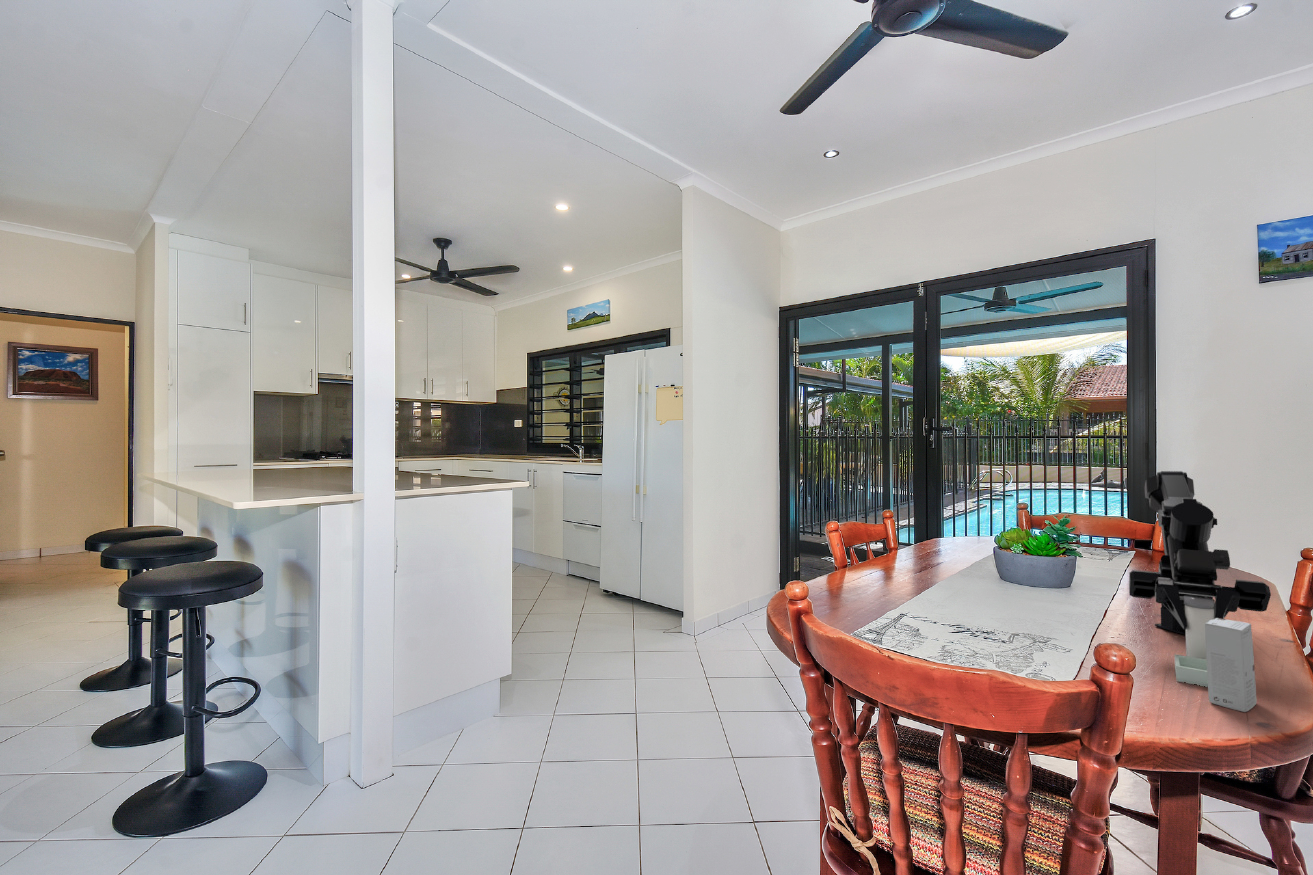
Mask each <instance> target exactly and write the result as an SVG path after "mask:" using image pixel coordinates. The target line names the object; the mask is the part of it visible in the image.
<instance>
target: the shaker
mask: <svg viewBox="0 0 1313 875" xmlns="http://www.w3.org/2000/svg"><path fill="white" fill-rule="evenodd" d="M1184 605H1185V617H1186V623H1187V629H1185V631H1186V635H1185V654H1186V655H1185V656H1188V657H1194V658H1200V659H1206V660H1207V657H1206V640H1205V623H1207V622H1209V620H1213V619H1214V608H1215V598H1213V599H1211V598H1207V597H1202V596H1193V595H1186V596H1184Z"/></svg>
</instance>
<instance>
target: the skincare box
mask: <svg viewBox="0 0 1313 875" xmlns="http://www.w3.org/2000/svg"><path fill="white" fill-rule="evenodd" d="M1252 633H1253V630H1252V624H1251V623H1249V622H1244V621H1239V620H1232V619H1226V618H1224V619H1220V618H1215V619H1213V620H1209V622H1207V623H1205V640H1206V657H1207V677H1208V687H1207V692H1208V693H1207V694H1208V701H1209V703H1211V704H1213V705H1217V706H1220V707H1222V708H1223V707H1224V708H1227V709H1231V710H1234V711H1239V712H1242V713H1243V712H1244V713H1246V712H1249V711H1250V710H1251V709H1253V708H1254V707H1255V705H1256V704H1257V687H1256V672H1255V658H1254V644H1253V634H1252Z"/></svg>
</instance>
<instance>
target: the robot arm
mask: <svg viewBox="0 0 1313 875" xmlns="http://www.w3.org/2000/svg"><path fill="white" fill-rule="evenodd" d="M1194 483H1195V482H1194V479H1192V478H1190V477H1189V476H1188V473H1187V471H1186V472H1185V471H1183V470H1182V471H1181V470H1179V471H1178V470H1176V471H1175V470H1161V471H1157V472H1156V474H1155V475H1154V476H1150V477H1148V478H1146V479H1145V483H1144V497H1145V499H1148V503H1149V508H1150V509H1152V510H1153V511H1155V512H1156V513H1157V523H1158V527H1160V528H1161V534H1162V543H1163V550H1164V554H1162V555H1161V557H1160V561H1159V562H1158V563H1159V564H1158V571H1147V570H1137V569H1133V570H1131V571H1130V572H1128V591H1129V592H1128V593H1129V596H1130V597H1133V598H1138V599H1146V600H1151V599H1153V598H1155V599H1154V600H1155V603H1157V604H1160V606H1161V607H1160V623H1159V622H1158V623H1154V627H1156V628H1159V629H1164V630H1167V631H1170V632H1173V633H1177V634H1181V635H1184V636H1186V631H1185V629H1187V623H1186V617H1185V605H1184V596H1186V595H1193V596H1202V597H1207V598H1211V599H1214V600H1215V608H1214V619H1215V618H1220V619H1226V617H1227V615H1228V614H1229V613H1231V612H1232V613H1235V612H1237V611H1238V609H1239V610H1243V611H1250V612H1251V611H1252V612H1260V613H1261V612H1266V611H1267V609H1268V607H1269V603H1270V599H1271V596H1272V593H1271V590H1270V586H1269V585H1267V584H1266V583H1265V582H1264V581H1256V580H1246V579H1245V580H1244V579H1235V583H1234V587H1233V586H1224V585H1222V584H1216V583H1215V582H1217V580H1218V574H1217V570H1229V569H1230V567H1231V560H1230V558H1231V557H1230V555H1229V551H1228V550H1226V549H1213V551H1211V550H1209V546H1208V544H1209V543H1208V541H1209V540H1210V538H1211V532H1212V529H1213V528H1214V527H1215V526H1218V519H1217V518H1216V517H1214V511H1212V510H1211V509H1210V508H1209V507H1208V506H1206V505H1204V504H1203V503H1202V502H1201V501H1198V500H1197V499H1196V498H1194V497H1195V495H1196V494H1195V484H1194Z"/></svg>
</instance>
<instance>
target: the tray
mask: <svg viewBox="0 0 1313 875" xmlns="http://www.w3.org/2000/svg"><path fill="white" fill-rule="evenodd" d="M1174 671H1175V679H1176V682H1180V683H1184V682H1186V683H1185V684H1190V685H1194V684H1197V685H1196V686H1199V685H1200V687H1204V686H1205V688H1208V677H1207V660H1206V659H1200V658H1194V657H1188V656H1186V655H1183V654H1176V653H1174Z"/></svg>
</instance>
